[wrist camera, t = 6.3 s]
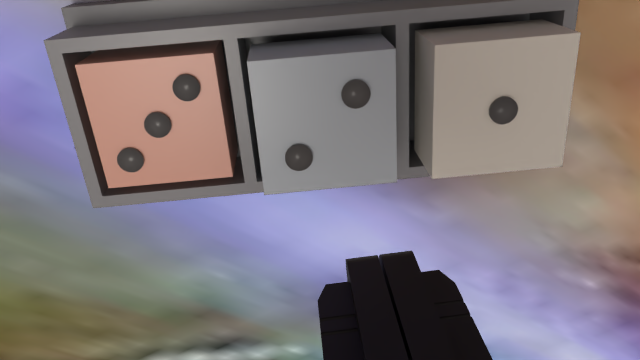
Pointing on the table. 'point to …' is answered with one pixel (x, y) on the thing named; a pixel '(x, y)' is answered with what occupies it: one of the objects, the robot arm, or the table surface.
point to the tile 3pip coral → (160, 112)
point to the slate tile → (325, 112)
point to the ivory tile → (493, 96)
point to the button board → (237, 36)
